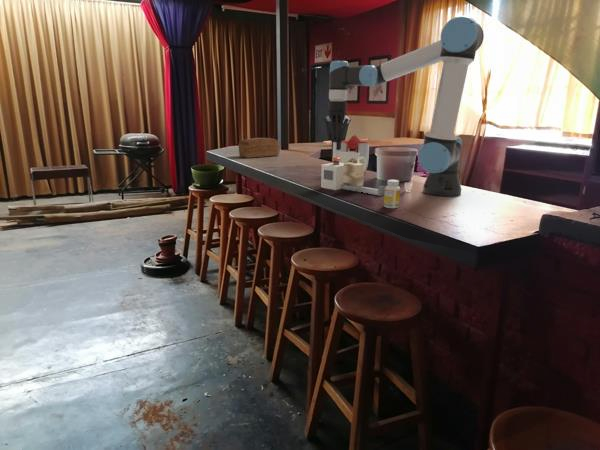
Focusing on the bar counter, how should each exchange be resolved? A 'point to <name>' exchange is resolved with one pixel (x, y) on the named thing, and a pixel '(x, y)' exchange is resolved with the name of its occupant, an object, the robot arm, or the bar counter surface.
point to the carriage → (353, 174)
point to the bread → (259, 147)
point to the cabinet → (332, 176)
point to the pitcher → (351, 158)
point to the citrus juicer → (356, 148)
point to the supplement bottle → (392, 194)
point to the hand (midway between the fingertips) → (336, 157)
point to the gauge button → (335, 161)
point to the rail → (365, 189)
